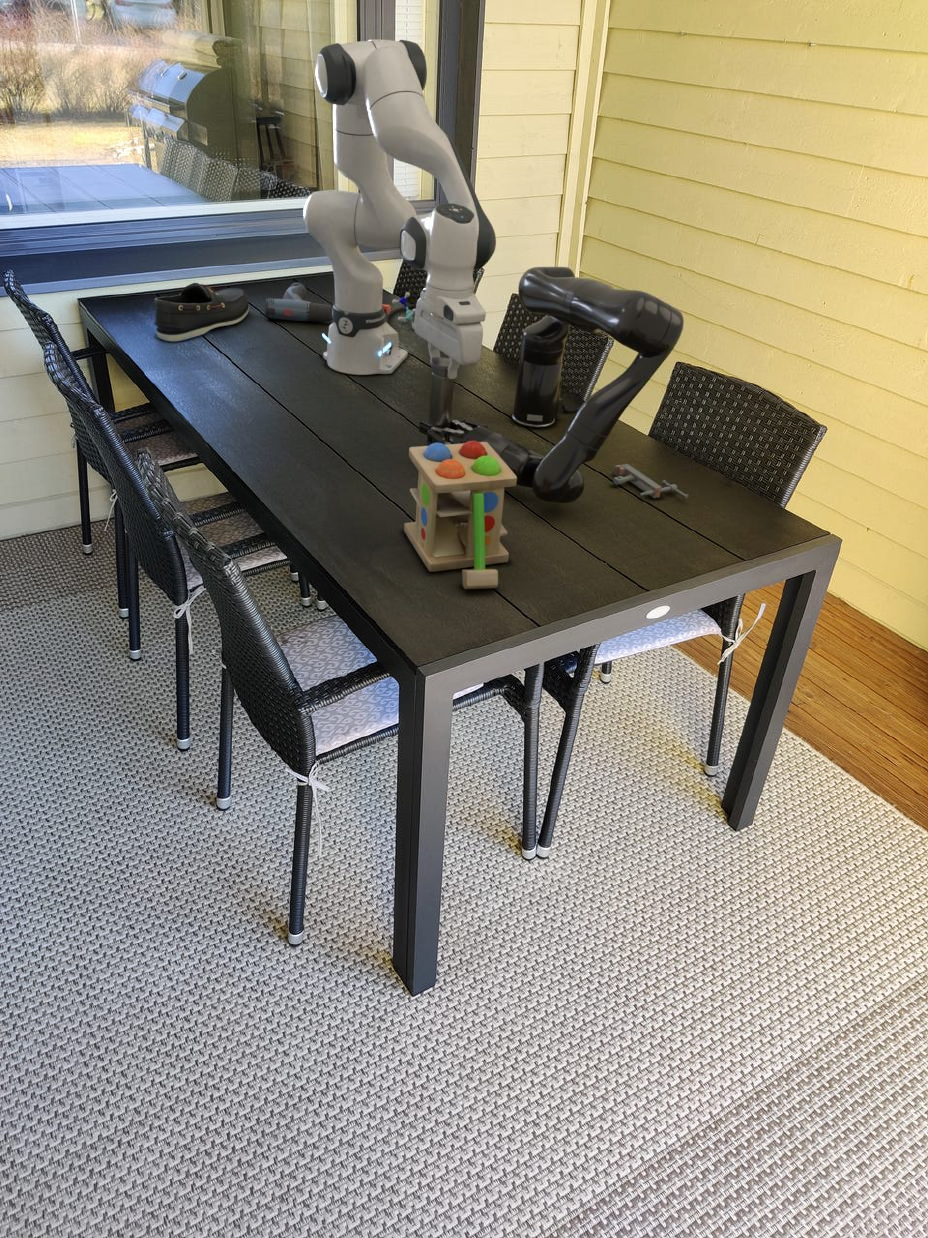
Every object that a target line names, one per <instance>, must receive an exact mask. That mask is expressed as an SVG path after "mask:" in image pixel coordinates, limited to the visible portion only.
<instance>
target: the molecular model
mask: <svg viewBox="0 0 928 1238" xmlns="http://www.w3.org/2000/svg"><path fill="white" fill-rule="evenodd" d="M410 296H411V293H410V292H409V291H406V292H405V295H404V297H401V298H400V299H392V300H391V302H392V305H396V304H397V303H400V304H401V305H403V307H404V306H405V308H406V310H405V311H406V312H405V316H403V317H402V316H398V318H397V320H398V322H403V323H407V322H410V324H411V329H412V330H414V316H415V310H416V308H412V309H408V307H407V306H408V305H407V298H408V297H410Z"/></svg>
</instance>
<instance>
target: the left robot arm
mask: <svg viewBox="0 0 928 1238" xmlns="http://www.w3.org/2000/svg"><path fill="white" fill-rule="evenodd" d="M427 78H428V68H427V60H426V56H425V53H424V51H423V49H422V48H421V46H420V45H419V44H418V43H416V42H415V41H411V40H406V39H399V40H391V39H368V40H360V41H352V42H345V43H341V44H340V43H339V42H336V43H332V44H331V43H330V44H328V45H325V46H323V47H322V48H321V49H320V51H319V53H318V54H317V57H316V65H315V79H316V84H317V86H318V90H319V93H320V96H321V97H322V98H323V99H324V100H325V101H326V102H327V103H328V104H332V105H333V107H332V137H333V139H332V141H333V142H332V143H333V161H334V164H335V166H336V168H337V170H338V172H339V173H340V174H341V175H343V176H344V177H345V178H346V179H348V180H350V181H351V182H352V183H354V185H355V186H356V187H357V189H358V190H359V192H355V191H346V190H338V189H327V190H318V191H313V192H312V193H311V194H309V196H308V197H307V199H306V201H305V203H304V206H303V210H302V219H303V224H304V226H305V229H306V231H307V233H308V234H309V235H310V236H311V237H312V238H313V239H314V240H315V241H316V242H317V243H318V244H319V245H320V246H321V247H322V249H323V250H324V252H325V254H326V256H327V257H328V260H329V263H330V265H331V268H332V272H333V273H332V274H333V282H334V283H333V284H334V285H333V286H334V303H333V305H332V307H333V311H332V314H333V320H332V323H331V324H330V325H329V326H328V336H326V335H325V333H322V334H321V335H322V337H323V339H324V340H325V341H326V342H327V346H326V347H327V348H326V351H324V352H323V353H322V358H323V359H324V360H326V362H327V363H326V365H327V366H328V367H329V368H330V369H332V370H334V371H336V372H339V373H341V374H342V373H343V374H347V375H356V376H369V375H379V374H380V375H389V374H392V373H393V372H394V371H395V370H396V369H397V368H398V367H399V366H400V365H401V364H402V363H403V361H405V360H406V359H407V357H408V356H409V354H408V353H409V351H407V350H405V349H403V348H401V347H399V345H400V344H399V343H400V342H399V341H400V340H399V339H400V337H399V333H398V331H397V330H396V329H394V328H393V327H392V325H391V324H390V322H389V319H390V318H391V317H392V316H393V315H394V314H397V313H400V312H403V311H407V310H406V308H405V306H404V305H403V306H401V307H398V308H394V309H393V310H391V308H392V306H391V305H390V304H385V303H383V292H384V290H383V288H384V277H383V274H382V272H381V270H380V268H379V267H378V266H377V265H375V264H374V263H373V262H371V261H370V260H369V259H367V258H366V257H365V256H364V254H362V252H361V250H360V248H359V247H367V248H375V249H381V250H382V249H384V250H392V249H393V250H395V249H399V252H400V256H401V258H402V259H403V260H404V262H405V263H406V264H407V265H408V266H409V267H410V268H412V269H414V270H420V271H425V272H426V274H427V276H426V280H425V286H424V288H423V289H422V290H421V291H420V295H419V298H418V299H417V301H416V303H412V304H408V305H407V307H408V309H409V310H411V309H416V310H415V314H414V317H413V323H414V329H413V331H414V333H415V334H416V335H417V336H418V337H420V338H421V339H423V340H424V341H425V342H426V343H427V349H428V354H429V357H430V358H429V359H430V361H429V363H430V364H429V365H430V366H431V364H432V360H433V359H436V358H442V357H441V352H442V353H443V354H445V355H446V356H447V357H448V359H449V362H450V364H449V367H448V368H446V370H445V371H446V373H445V376H447V377H448V378H449V379H454V380H455V379H457V377H458V370H459V368H460V366H473V365H477V364H478V363H479V361H480V359H481V356H482V350H483V349H482V348H483V337H484V329H483V324H482V323H483V322H485V321H486V316H487V312H486V309H485V307H483V305H482V304H481V303H480V301H479V300H478V298H477V295H476V293H474V287H475V286H474V285H475V282H474V277H473V275H474V274H473V273H474V270H475V271H479V270H481V269H483V267H485V266H486V265H487V264H488V262H489V261H490V260H491V258H492V257H493V255H494V253H495V251H496V247H497V237H496V232H495V229H494V227H493V224H492V222H491V221H490V219H489V218H488V216H487V214H486V213H485V211H484V209H483V207H482V205H481V204H480V200H479V199H478V196H477V194H476V192H475V188H474V187H473V184H472V182H471V179H470V177H469V175H468V172H467V169H466V166H465V165H464V162H463V160H462V157H461V156H460V155H461V154H460V153H459V150H458V149H457V147H456V144H455V142H454V141H453V139H452V137H451V136H449V134H447V133H445V132H444V130H442V128H440V126H439V125H438V124H437V122H436V120H435V119H434V118H433V116H432V114H431V112H430V111H429V108H428V105H427V103H426V102H427V101H426V98H425V95H424V92H423V91H424V90H425V88H426V85H427ZM387 155H388V156H389V157H390V158H392V159H394V160H397V161H399V162H402V163H405V164H408V165H411V166H412V167H413V166H414V167H416V168H418V169H420V170H423V171H425V172H426V173H428V174H430V175H431V176H433V177H434V178H435V179H436V181H438V182H439V184H440V186H441V188H442V191H443V194H444V195H445V198H446V200H447V203H440V204H438V205H436V206H435V207H434V208H433V209H432V211H431V212H428V213H424V214H417V212H416V209H415V208H414V206H413V205H412V203H411V202H410V201H408V200H407V199H406V198H405V197H404V196H403V195H402V194H401V192H400V191H399V190H398V188H397V187H396V185H395V183H394V181H393V179H392V177H391V174H390V171H389V166H388V160H387V159H388V157H387Z"/></svg>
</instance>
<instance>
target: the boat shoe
mask: <svg viewBox="0 0 928 1238" xmlns="http://www.w3.org/2000/svg"><path fill="white" fill-rule="evenodd" d="M154 305H155V315H154V317H155V321H154V322H153V323H154V325H155V326H156V337H157V338H158V339H160V340H162V341H166V342H180V341H181V342H182V341H186V340H189V339H192V338H196V337H199V336H201V335H204V334H206V333H208V332H209V331H210V330H212V329H215V328H219V327H224V326H226V327H227V326H230V325H234V324H238V323H239V322H241V321H243V320H244V319H245V318H246V317H247V315H248V314H249V311H250V304H249V300H248V297H247V295H246V293H245V291H244V290H243V289H241V288H238V287H230V288H224V289H220V290H217V291H215V290H214V289H213V288H212V287H211V286H209V285H207V284H203V283H198V282H191V283H190V284H188V285H186V286H185V287H184V288H183V289H182V290H181V291H180V292H179V294H177V295H171V296H159V297H155V298H154Z"/></svg>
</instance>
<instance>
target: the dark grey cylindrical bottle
mask: <svg viewBox="0 0 928 1238" xmlns="http://www.w3.org/2000/svg"><path fill="white" fill-rule="evenodd" d="M430 381H431V382H430V393H429V395H430V396H429V410H428V423H429V424H431V425H433V426H435V427H437V428H440V429H444V428H449V429H450V422H451V420H452V409H453V395H454V384H455V379H449V378H448V377H447V376H445V375H438V374H435V373H433V372H432V371H431V380H430ZM437 435H439V436H440V437H441V434H440V433H438V434H437ZM447 442H448V433H447ZM426 446H429V445H428V444H427V443H426Z"/></svg>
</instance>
